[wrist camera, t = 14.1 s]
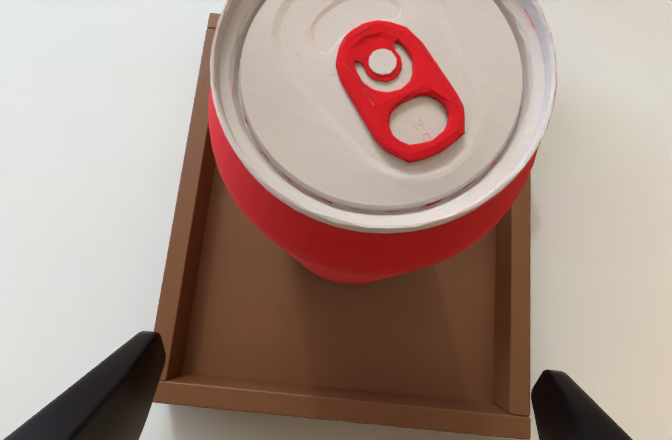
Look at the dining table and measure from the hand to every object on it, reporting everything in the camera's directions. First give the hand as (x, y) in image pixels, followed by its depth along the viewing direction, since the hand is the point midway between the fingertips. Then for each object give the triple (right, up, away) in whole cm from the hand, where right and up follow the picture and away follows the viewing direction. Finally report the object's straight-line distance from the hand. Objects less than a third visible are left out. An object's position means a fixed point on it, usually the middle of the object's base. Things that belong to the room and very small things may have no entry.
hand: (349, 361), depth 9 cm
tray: (0, +4, +9) cm, 10 cm away
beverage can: (0, +3, +9) cm, 9 cm away
